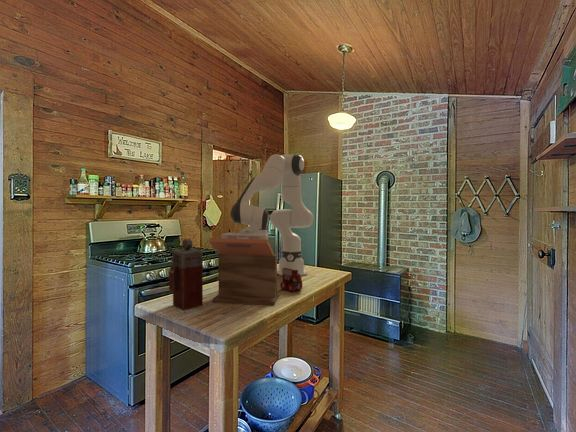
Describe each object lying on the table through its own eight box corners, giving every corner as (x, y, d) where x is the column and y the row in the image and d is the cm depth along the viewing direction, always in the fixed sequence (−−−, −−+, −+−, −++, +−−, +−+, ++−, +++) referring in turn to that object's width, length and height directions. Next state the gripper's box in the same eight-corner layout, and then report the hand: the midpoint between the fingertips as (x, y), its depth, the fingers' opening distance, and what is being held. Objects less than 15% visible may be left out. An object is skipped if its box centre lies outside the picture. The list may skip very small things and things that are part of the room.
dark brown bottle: (167, 306, 127) (166, 239, 126) (192, 300, 135) (191, 237, 134) (177, 311, 121) (176, 241, 120) (203, 305, 129) (202, 238, 128)
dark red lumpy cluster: (296, 294, 146) (296, 272, 145) (277, 288, 154) (277, 268, 153) (305, 290, 151) (305, 269, 150) (287, 286, 159) (287, 266, 158)
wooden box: (223, 292, 147) (223, 251, 146) (279, 295, 143) (279, 252, 142) (212, 302, 133) (212, 256, 132) (274, 305, 129) (274, 258, 128)
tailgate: (220, 250, 138) (209, 238, 124) (273, 252, 135) (267, 239, 121) (220, 255, 137) (208, 243, 123) (272, 257, 134) (266, 245, 120)
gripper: (227, 229, 141) (216, 231, 127) (270, 230, 138) (264, 232, 125) (227, 242, 141) (216, 247, 128) (270, 243, 139) (264, 248, 125)
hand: (240, 240), depth 126 cm, fingers closed
